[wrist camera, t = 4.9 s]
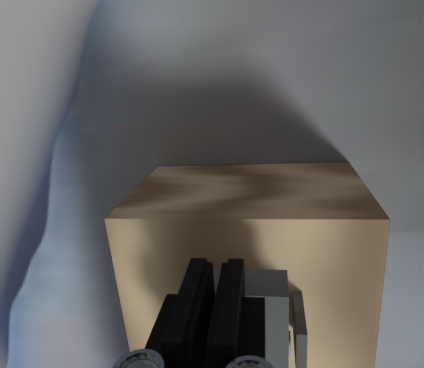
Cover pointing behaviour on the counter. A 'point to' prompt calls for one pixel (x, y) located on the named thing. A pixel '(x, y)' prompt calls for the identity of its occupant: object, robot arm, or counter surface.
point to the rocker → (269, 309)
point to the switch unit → (260, 248)
